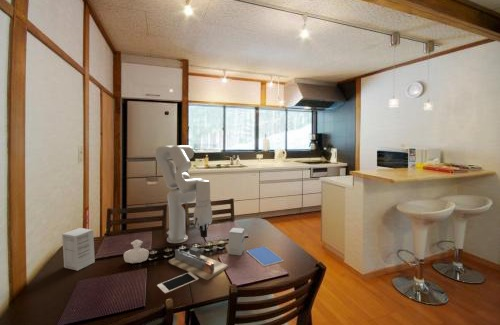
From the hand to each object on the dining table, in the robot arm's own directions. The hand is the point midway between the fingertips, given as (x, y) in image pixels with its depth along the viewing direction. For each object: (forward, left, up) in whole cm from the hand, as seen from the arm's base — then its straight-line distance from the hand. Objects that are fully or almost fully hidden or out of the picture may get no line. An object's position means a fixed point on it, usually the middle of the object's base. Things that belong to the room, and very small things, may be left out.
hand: (203, 236), depth 136 cm
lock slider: (-1, -6, -9) cm, 10 cm away
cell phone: (+10, -25, -11) cm, 29 cm away
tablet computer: (+27, +18, -11) cm, 34 cm away
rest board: (+6, -10, -10) cm, 15 cm away
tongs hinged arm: (+7, -12, -9) cm, 17 cm away
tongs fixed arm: (+6, -13, -9) cm, 17 cm away
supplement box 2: (+12, +13, -10) cm, 21 cm away
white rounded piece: (-23, -25, -10) cm, 35 cm away
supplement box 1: (-41, -44, -10) cm, 61 cm away
